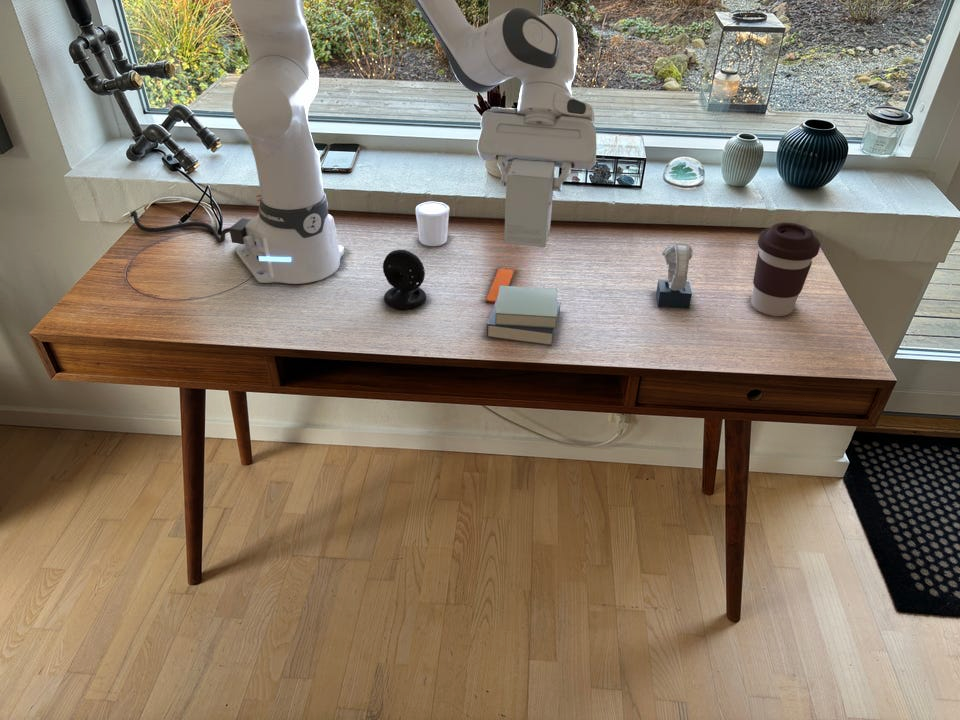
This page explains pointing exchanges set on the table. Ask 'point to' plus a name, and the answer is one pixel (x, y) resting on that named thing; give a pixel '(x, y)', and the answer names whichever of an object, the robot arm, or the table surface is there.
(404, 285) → the webcam
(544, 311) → the book stack
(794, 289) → the coffee cup
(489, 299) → the orange rectangular block
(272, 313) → the table surface
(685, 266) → the watch
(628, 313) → the table surface
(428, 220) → the white cup
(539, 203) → the white packaging box
